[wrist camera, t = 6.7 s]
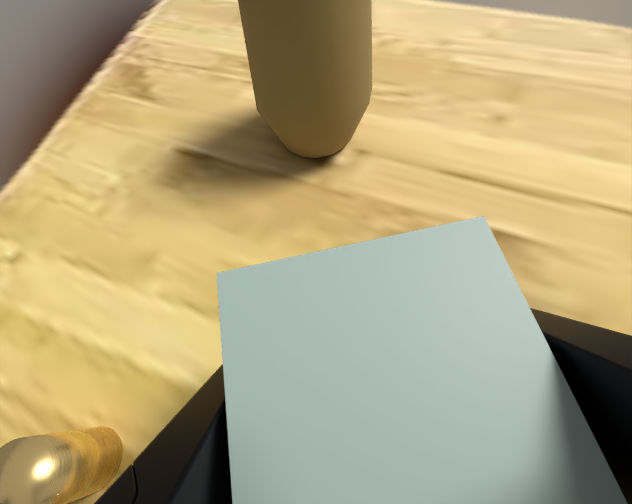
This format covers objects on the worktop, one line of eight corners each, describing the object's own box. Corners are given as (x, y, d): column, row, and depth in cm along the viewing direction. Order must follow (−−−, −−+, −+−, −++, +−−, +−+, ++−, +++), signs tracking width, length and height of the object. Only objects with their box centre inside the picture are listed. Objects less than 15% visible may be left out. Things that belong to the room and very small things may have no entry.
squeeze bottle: (252, 114, 26) (104, -359, 10) (341, 82, 27) (344, -404, 10) (286, 187, 23) (147, -341, 6) (386, 148, 24) (491, -409, 7)
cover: (449, 455, 13) (662, 573, 4) (308, 486, 13) (244, 672, 4) (404, 315, 16) (484, 216, 7) (286, 340, 15) (216, 273, 7)
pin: (106, 501, 16) (23, 539, 12) (54, 485, 16) (-43, 516, 12) (131, 433, 17) (64, 447, 13) (83, 420, 17) (3, 429, 13)
